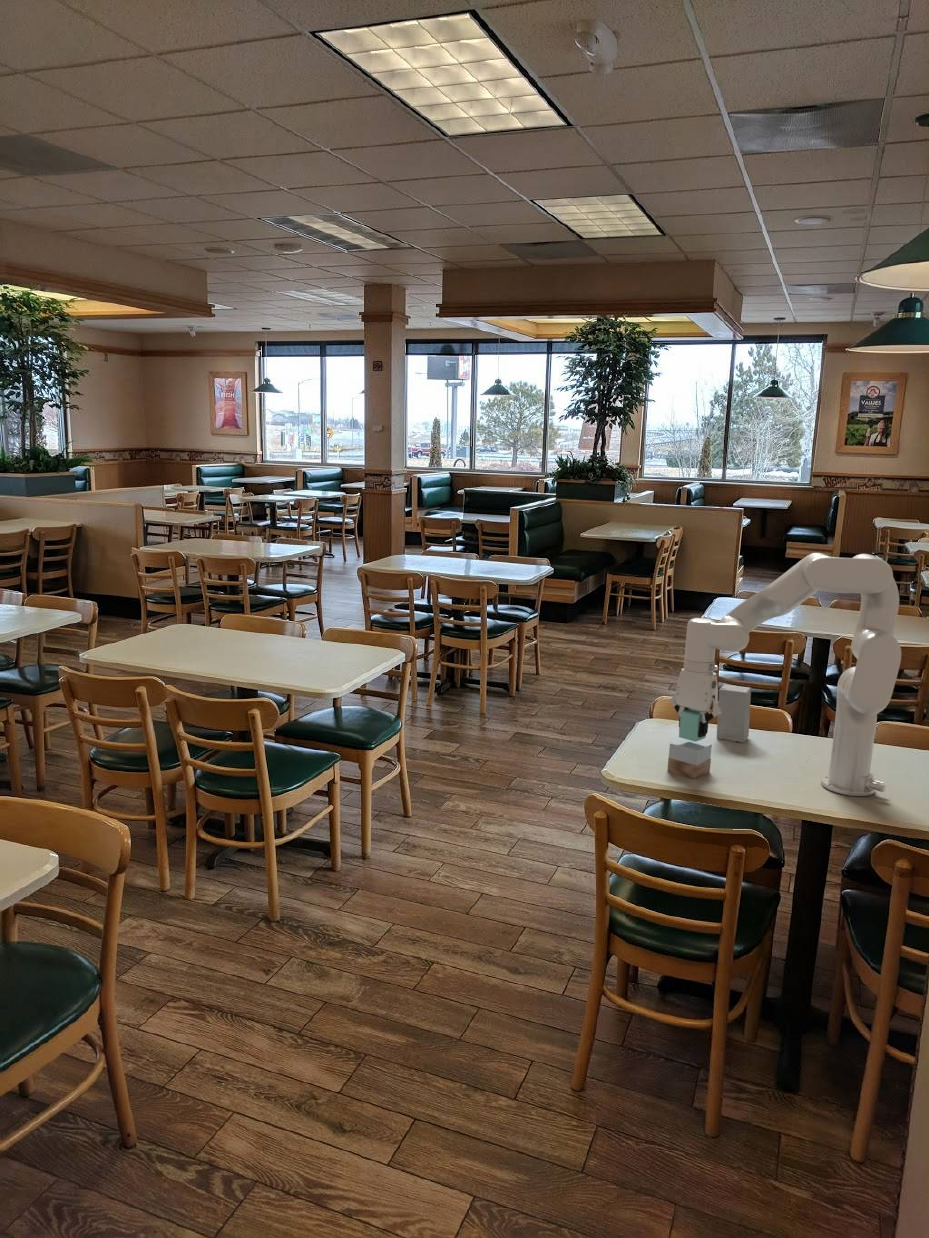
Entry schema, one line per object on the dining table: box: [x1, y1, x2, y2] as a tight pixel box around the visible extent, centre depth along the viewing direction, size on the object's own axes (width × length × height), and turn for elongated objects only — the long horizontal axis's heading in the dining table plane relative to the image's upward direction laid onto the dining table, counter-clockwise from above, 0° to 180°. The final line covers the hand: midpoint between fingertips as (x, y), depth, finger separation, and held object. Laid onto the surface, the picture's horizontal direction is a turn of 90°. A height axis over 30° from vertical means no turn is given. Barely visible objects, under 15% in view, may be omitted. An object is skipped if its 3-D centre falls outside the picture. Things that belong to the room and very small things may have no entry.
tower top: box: [668, 737, 713, 766], centre depth 235 cm, size 8×8×4 cm
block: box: [678, 708, 707, 742], centre depth 233 cm, size 5×5×7 cm
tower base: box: [666, 757, 712, 780], centre depth 236 cm, size 8×8×4 cm
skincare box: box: [716, 684, 752, 744], centre depth 265 cm, size 8×7×16 cm
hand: (692, 732), depth 234 cm, fingers closed on block, 4 cm apart
